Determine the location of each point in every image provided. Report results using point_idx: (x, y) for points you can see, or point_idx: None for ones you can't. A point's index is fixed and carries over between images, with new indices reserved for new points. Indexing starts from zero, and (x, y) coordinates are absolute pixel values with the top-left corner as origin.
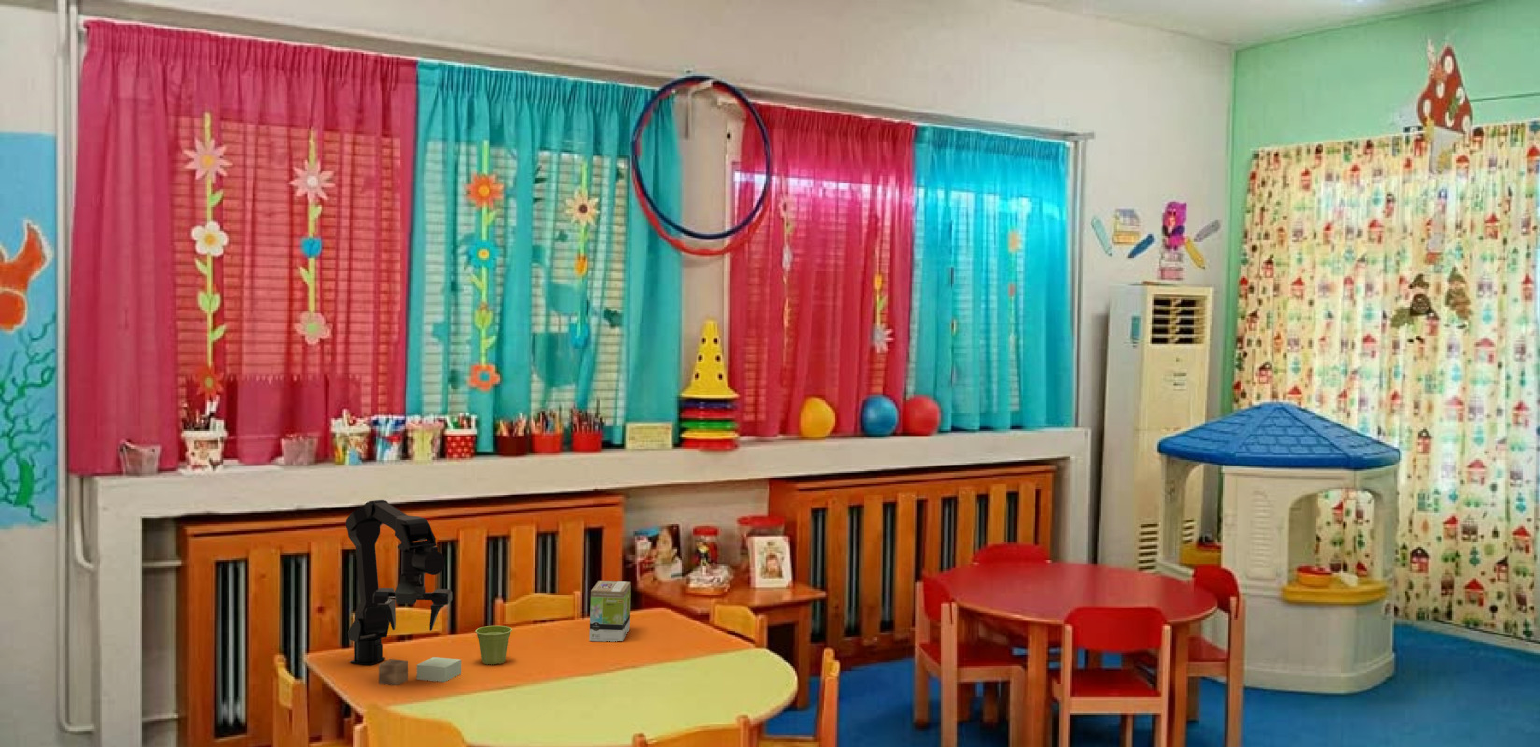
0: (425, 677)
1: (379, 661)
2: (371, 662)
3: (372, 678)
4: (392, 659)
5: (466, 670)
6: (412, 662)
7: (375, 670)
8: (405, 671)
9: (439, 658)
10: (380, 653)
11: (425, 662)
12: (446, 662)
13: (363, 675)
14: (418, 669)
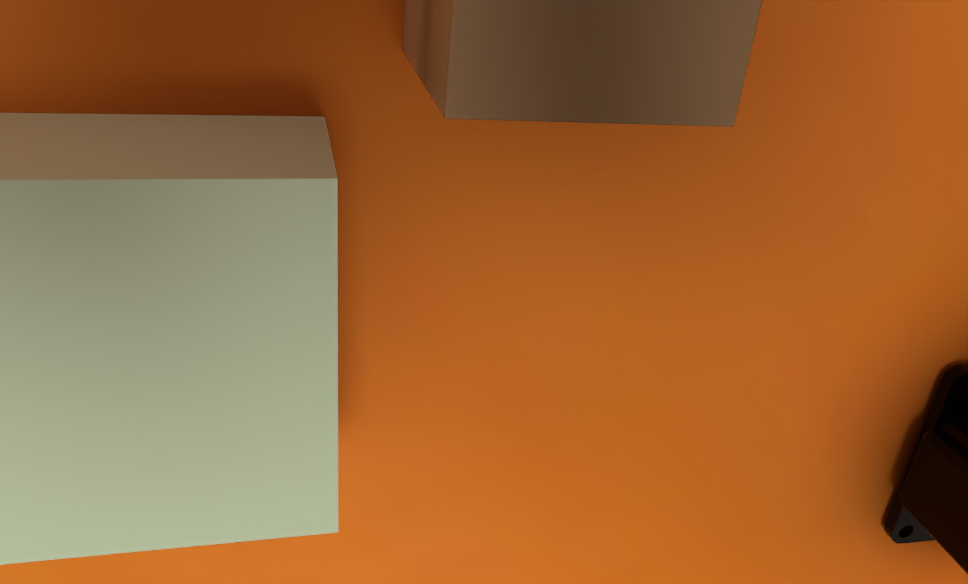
0: (197, 128)
1: (908, 468)
2: (962, 401)
3: (818, 2)
4: (702, 118)
5: (22, 564)
6: (648, 560)
7: (871, 266)
8: (425, 18)
9: (227, 512)
10: (947, 511)
11: (286, 315)
12: (6, 410)
13: (936, 79)
14: (302, 155)
